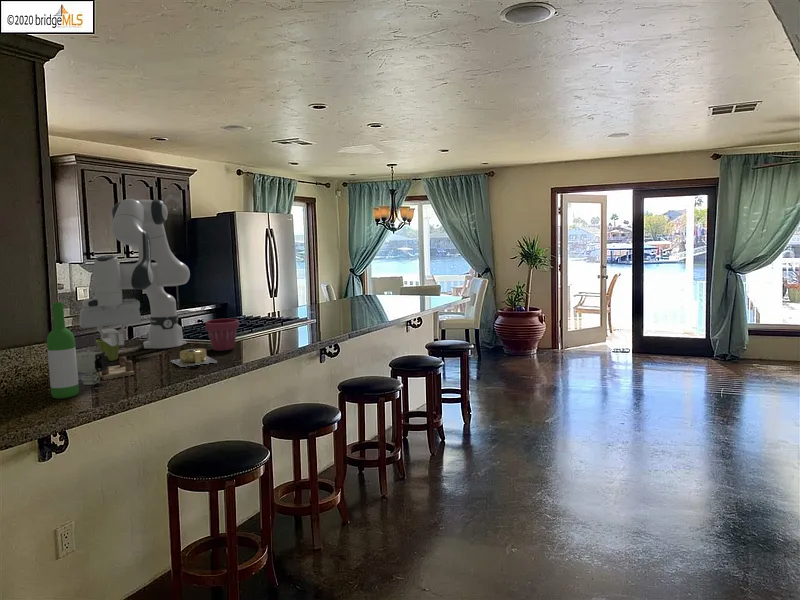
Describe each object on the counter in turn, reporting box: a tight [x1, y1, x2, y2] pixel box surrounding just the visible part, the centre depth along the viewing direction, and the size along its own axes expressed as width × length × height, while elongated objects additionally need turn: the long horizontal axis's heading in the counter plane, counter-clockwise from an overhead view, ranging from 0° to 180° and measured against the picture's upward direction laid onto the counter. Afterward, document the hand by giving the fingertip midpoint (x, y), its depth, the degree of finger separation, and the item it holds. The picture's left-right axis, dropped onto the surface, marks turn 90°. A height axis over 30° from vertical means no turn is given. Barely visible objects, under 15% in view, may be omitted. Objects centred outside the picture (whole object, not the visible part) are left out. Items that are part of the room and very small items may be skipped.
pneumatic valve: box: [76, 349, 110, 386], centre depth 203 cm, size 6×12×12 cm, turn 84°
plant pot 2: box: [204, 318, 240, 352], centre depth 265 cm, size 14×14×13 cm
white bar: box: [101, 327, 125, 346], centre depth 217 cm, size 18×4×4 cm, turn 36°
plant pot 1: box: [95, 338, 120, 362], centre depth 246 cm, size 9×9×9 cm
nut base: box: [170, 355, 218, 368], centre depth 236 cm, size 14×14×1 cm
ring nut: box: [179, 348, 208, 363], centre depth 234 cm, size 14×10×4 cm
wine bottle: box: [46, 301, 80, 400], centre depth 187 cm, size 8×8×30 cm
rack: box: [95, 356, 135, 381], centre depth 219 cm, size 16×10×5 cm, turn 36°
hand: (112, 337), depth 218 cm, fingers closed on white bar, 4 cm apart
